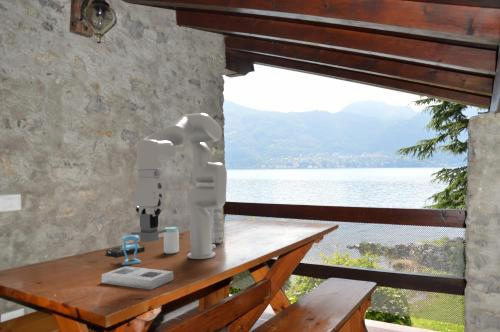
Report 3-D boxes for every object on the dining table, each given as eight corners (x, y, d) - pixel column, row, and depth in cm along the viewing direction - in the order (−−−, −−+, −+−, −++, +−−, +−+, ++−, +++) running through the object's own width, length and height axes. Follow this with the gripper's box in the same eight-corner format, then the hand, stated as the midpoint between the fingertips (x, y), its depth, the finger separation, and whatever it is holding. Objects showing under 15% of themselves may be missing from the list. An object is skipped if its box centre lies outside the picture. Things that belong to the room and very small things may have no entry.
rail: (125, 274, 148) (125, 266, 148) (173, 279, 138) (172, 271, 138) (101, 282, 137) (101, 274, 137) (151, 289, 128) (151, 280, 128)
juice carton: (224, 240, 211) (223, 196, 211) (222, 243, 203) (221, 198, 203) (207, 240, 212) (206, 197, 212) (204, 243, 204) (203, 198, 204)
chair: (139, 259, 173) (138, 232, 173) (141, 263, 165) (140, 234, 165) (121, 261, 170) (120, 233, 170) (122, 265, 162) (121, 236, 162)
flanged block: (147, 237, 140) (147, 212, 141) (166, 239, 137) (166, 212, 137) (131, 241, 133) (131, 214, 133) (151, 243, 129) (150, 215, 129)
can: (175, 254, 180) (174, 228, 180) (161, 254, 181) (160, 228, 181) (181, 251, 187) (180, 226, 187) (167, 251, 188) (167, 226, 188)
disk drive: (118, 258, 177) (145, 252, 189) (118, 252, 177) (145, 246, 189) (106, 255, 184) (132, 249, 196) (105, 249, 184) (132, 244, 195)
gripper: (174, 174, 135) (175, 226, 135) (137, 175, 142) (137, 224, 142) (160, 174, 128) (161, 229, 128) (122, 175, 135) (123, 227, 135)
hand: (149, 226), depth 135 cm, fingers closed on flanged block, 4 cm apart
